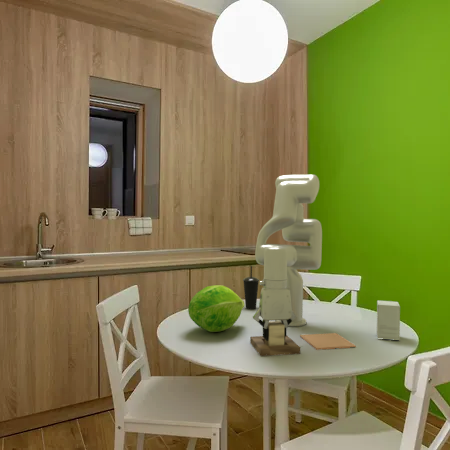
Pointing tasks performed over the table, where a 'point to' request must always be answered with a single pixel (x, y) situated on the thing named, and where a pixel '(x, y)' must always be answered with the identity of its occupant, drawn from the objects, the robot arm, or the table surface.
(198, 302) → the lettuce
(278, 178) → the robot arm
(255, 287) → the drinking cup
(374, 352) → the table surface
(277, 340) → the maple block
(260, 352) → the pocket block
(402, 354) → the table surface
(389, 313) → the supplement box
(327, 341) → the pad
